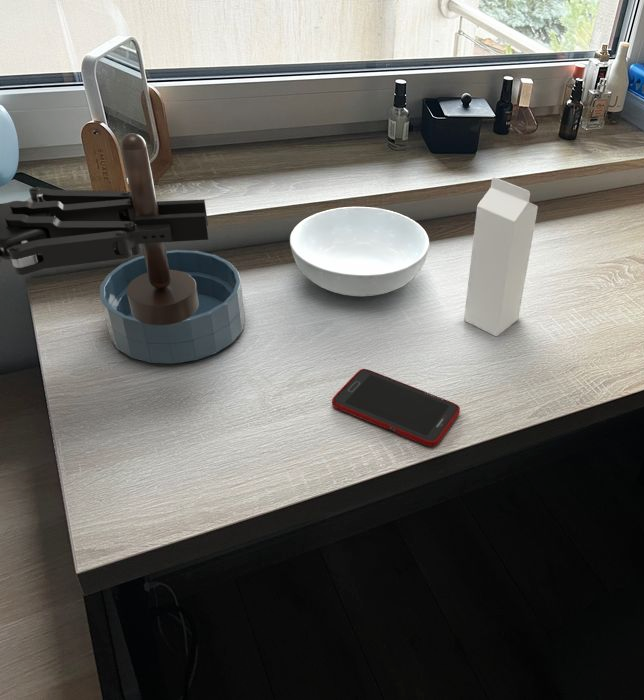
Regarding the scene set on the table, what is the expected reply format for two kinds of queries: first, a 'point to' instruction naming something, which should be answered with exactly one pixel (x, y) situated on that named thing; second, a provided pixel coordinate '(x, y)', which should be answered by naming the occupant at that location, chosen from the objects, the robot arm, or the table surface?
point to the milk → (499, 257)
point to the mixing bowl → (186, 336)
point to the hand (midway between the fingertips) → (206, 219)
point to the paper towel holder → (154, 252)
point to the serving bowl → (359, 250)
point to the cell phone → (397, 407)
